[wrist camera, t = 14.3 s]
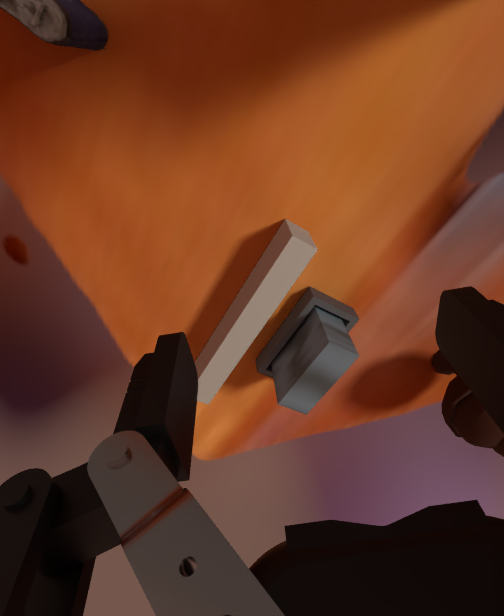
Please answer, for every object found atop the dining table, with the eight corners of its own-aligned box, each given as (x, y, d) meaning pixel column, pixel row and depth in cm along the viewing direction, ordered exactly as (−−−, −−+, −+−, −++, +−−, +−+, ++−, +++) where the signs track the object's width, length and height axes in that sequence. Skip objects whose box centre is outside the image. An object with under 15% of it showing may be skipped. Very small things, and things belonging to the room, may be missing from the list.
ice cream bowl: (500, 323, 49) (597, 408, 36) (476, 384, 55) (552, 476, 42) (422, 328, 49) (492, 417, 36) (407, 389, 55) (462, 484, 42)
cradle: (309, 286, 44) (313, 296, 42) (353, 308, 46) (359, 319, 44) (255, 359, 49) (257, 371, 47) (297, 376, 52) (300, 388, 50)
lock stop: (313, 302, 44) (329, 342, 38) (339, 314, 46) (359, 356, 39) (270, 358, 49) (277, 404, 42) (295, 369, 50) (306, 414, 43)
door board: (285, 218, 39) (292, 235, 35) (307, 231, 40) (317, 249, 36) (189, 369, 50) (186, 396, 45) (209, 377, 51) (208, 404, 46)
